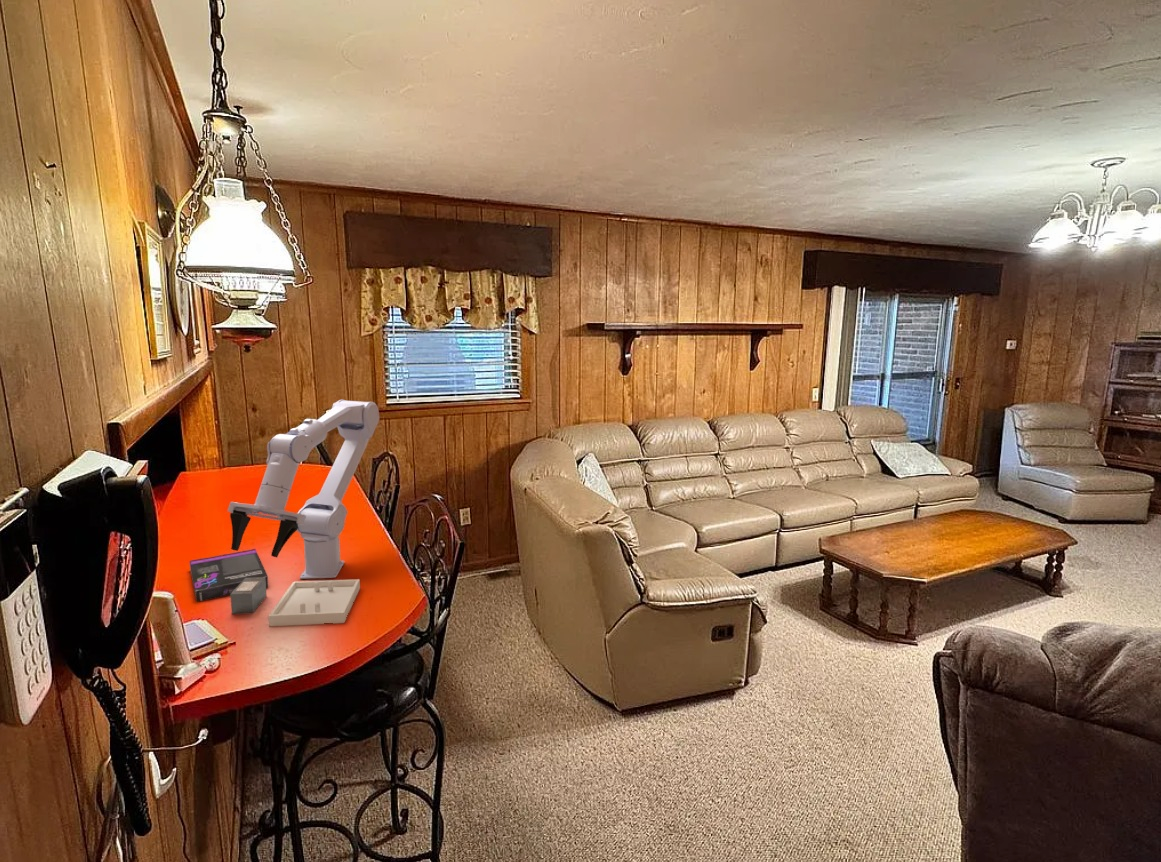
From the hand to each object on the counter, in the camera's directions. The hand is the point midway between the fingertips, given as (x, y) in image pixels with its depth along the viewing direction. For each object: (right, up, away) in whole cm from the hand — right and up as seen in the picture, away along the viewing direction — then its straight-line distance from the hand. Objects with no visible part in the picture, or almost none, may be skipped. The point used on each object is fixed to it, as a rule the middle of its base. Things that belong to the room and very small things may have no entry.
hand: (254, 553), depth 122 cm
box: (-15, -10, +17) cm, 25 cm away
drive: (-3, -12, +5) cm, 13 cm away
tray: (+11, -12, +5) cm, 17 cm away
